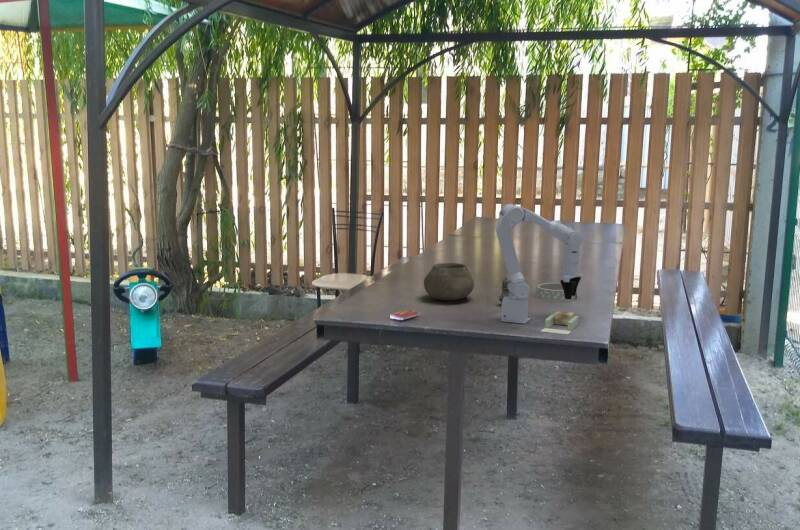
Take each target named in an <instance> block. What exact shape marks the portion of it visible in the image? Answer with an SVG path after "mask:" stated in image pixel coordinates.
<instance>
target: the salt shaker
mask: <svg viewBox="0 0 800 530" xmlns="http://www.w3.org/2000/svg"><path fill="white" fill-rule="evenodd" d="M507 277H508V276H505V278H504V279H503V280H502V283H501V285H502V286H501V291H502V292H501V294H500V295H499V296H498V298H499V302H500V304H498V305H500V306H499V307H501V306H502V300H503V298H504V297H509V294H510V292H509V290H508V287H507V286H508V278H507Z"/></svg>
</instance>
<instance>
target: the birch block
mask: <svg viewBox="0 0 800 530" xmlns="http://www.w3.org/2000/svg"><path fill="white" fill-rule="evenodd" d="M554 313H555V322H554V324H553V325H561V326H568V322H569V321H570V320H571V319H572V318H573V317H574V316H575V315H574V314H575V313H574V312H571V311H564V310H557V311H556V312H554Z"/></svg>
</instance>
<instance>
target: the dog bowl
mask: <svg viewBox="0 0 800 530" xmlns="http://www.w3.org/2000/svg"><path fill="white" fill-rule="evenodd" d="M577 291H578V290H576V294H575V296H572V298H571V299H565V295H564V290H563V287H562V285H561V282H546V283H545V282H544V283H540V284H538V285H537V286H536V289H535V299H536V300H538V299H539V300H538V301H541V300H542V302H546V301H547V303H571V302H575V301H576V298H578V293H577Z"/></svg>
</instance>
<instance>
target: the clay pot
mask: <svg viewBox="0 0 800 530" xmlns="http://www.w3.org/2000/svg"><path fill="white" fill-rule="evenodd" d="M474 287H475V280H474V278H473V276H472V275H471V273H470V271H469V268H468V265H467V264H464V263H459V262H458V263H456V262H441V263H440V262H439V263H435V264H433V265H432V267H431V269H430V270H429V272H428V273H427V274H426V275H425V277H424V279H423V288H424V290H425V292H426V294H428V295H429V296H430V297H432V298H435V300H439V301H445V302H446V301H447V302H448V301H451V302H453V301H458V300H459V301H460V300H462V299H464V298H466V297H467V296H469V295H470V294H471V293H472V292H473V290H474Z"/></svg>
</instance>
